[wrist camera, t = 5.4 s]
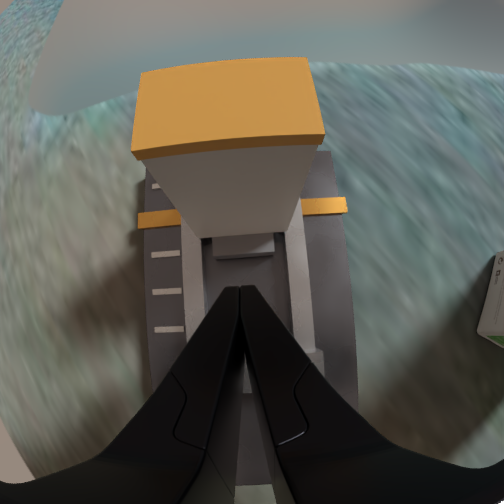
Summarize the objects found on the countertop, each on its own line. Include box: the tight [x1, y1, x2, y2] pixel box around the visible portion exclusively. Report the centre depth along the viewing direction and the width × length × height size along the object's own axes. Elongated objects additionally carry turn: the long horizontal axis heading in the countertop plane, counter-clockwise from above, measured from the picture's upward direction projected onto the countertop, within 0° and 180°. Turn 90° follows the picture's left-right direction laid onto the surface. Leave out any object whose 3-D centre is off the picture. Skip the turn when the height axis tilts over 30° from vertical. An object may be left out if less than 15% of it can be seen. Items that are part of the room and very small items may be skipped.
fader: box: [131, 57, 325, 260], centre depth 12 cm, size 4×4×10 cm
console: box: [138, 151, 358, 486], centre depth 15 cm, size 19×12×4 cm, turn 4°
